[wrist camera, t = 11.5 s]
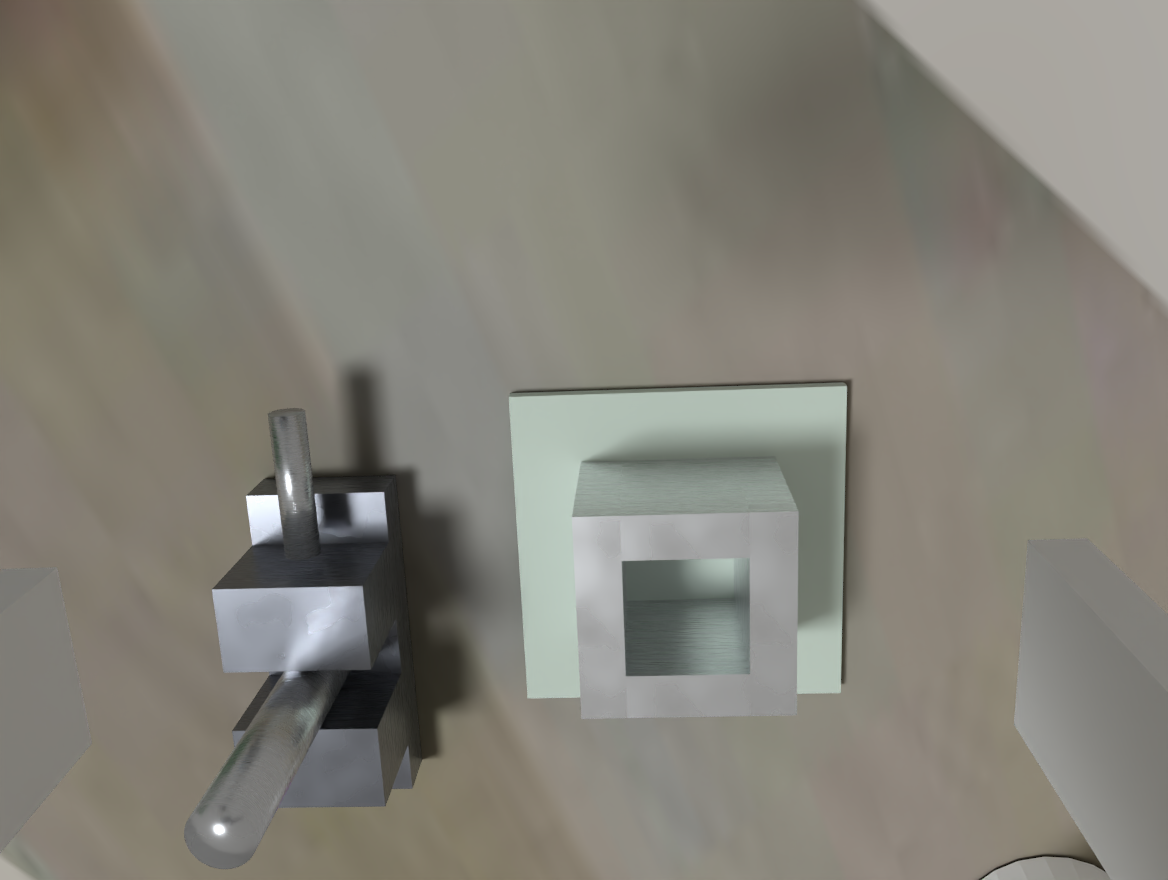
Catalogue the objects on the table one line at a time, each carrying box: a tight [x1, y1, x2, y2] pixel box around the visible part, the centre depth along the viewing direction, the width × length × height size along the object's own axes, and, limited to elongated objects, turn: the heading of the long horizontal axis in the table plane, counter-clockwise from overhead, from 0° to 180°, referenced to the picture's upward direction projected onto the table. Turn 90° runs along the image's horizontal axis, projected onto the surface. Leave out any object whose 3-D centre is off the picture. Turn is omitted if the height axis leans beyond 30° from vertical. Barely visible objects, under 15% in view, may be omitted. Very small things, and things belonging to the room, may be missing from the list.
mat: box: [509, 382, 847, 698], centre depth 41 cm, size 12×12×1 cm
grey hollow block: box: [572, 456, 799, 719], centre depth 38 cm, size 7×7×6 cm
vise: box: [184, 408, 422, 869], centre depth 36 cm, size 16×5×14 cm, turn 2°
